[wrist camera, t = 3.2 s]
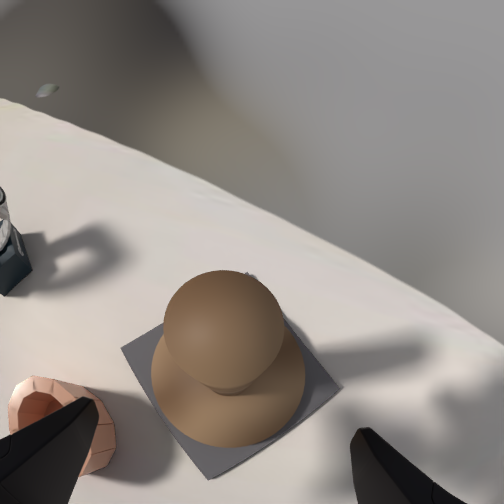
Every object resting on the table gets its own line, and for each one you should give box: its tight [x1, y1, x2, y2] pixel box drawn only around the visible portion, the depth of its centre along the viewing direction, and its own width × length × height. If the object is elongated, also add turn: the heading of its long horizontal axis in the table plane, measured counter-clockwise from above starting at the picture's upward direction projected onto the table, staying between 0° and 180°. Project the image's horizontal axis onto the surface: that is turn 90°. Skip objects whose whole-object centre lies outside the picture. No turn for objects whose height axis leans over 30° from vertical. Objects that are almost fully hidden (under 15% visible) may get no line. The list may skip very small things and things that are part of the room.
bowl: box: [8, 376, 116, 477], centre depth 13 cm, size 7×7×4 cm
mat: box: [121, 272, 340, 480], centre depth 18 cm, size 11×11×1 cm
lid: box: [151, 270, 305, 448], centre depth 12 cm, size 10×10×12 cm
